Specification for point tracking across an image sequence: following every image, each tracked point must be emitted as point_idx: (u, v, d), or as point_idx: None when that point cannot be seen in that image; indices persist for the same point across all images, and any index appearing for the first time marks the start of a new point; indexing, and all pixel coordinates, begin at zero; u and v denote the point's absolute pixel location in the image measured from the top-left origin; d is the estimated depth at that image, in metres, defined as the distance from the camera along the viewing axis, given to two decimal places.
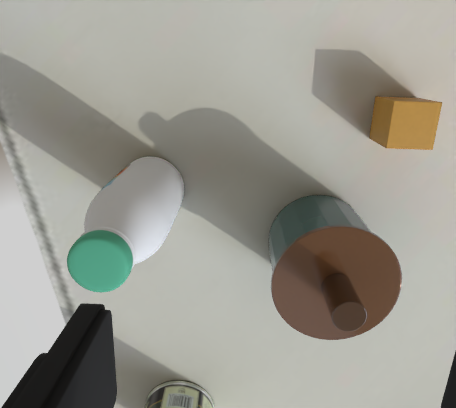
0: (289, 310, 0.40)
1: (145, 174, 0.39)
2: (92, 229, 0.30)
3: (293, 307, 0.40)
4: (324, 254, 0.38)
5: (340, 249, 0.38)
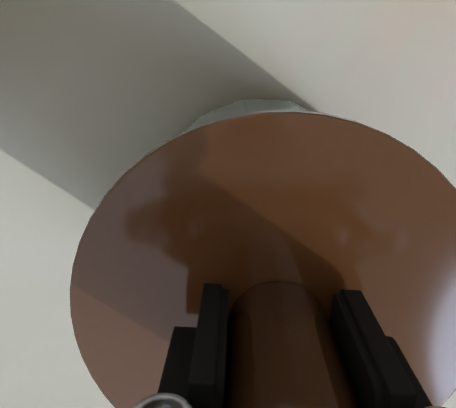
0: (137, 393, 0.13)
1: None
2: None
3: (149, 385, 0.13)
4: (230, 217, 0.11)
5: (284, 198, 0.11)
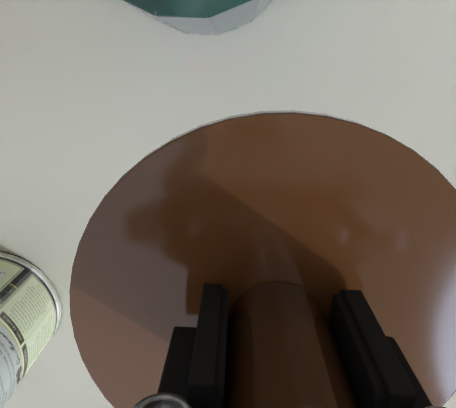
0: (137, 394, 0.13)
1: None
2: None
3: (149, 386, 0.13)
4: (230, 217, 0.11)
5: (284, 199, 0.11)
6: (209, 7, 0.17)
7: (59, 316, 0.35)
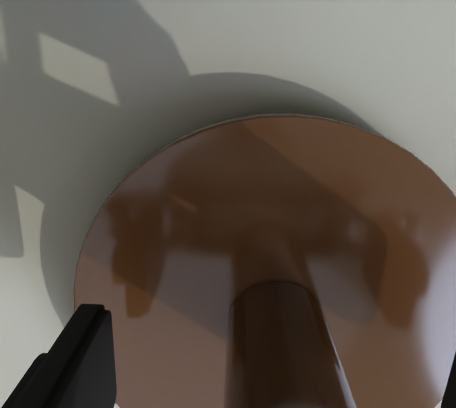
0: (139, 391, 0.13)
1: None
2: None
3: (151, 383, 0.13)
4: (230, 217, 0.11)
5: (283, 200, 0.11)
6: None
7: None
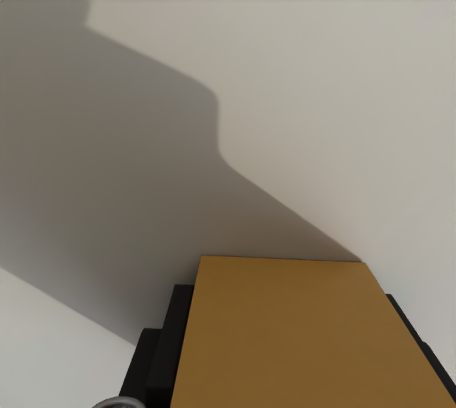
0: None
1: None
2: None
3: None
4: None
5: None
6: None
7: None
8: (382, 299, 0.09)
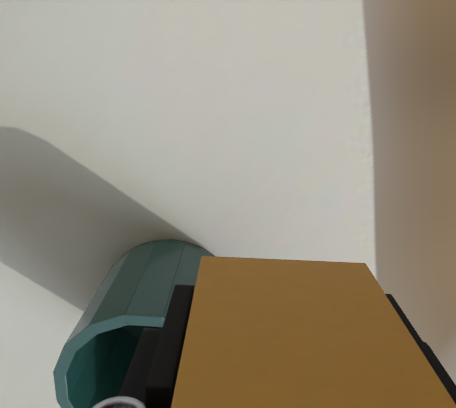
0: None
1: None
2: None
3: None
4: None
5: None
6: None
7: None
8: (382, 300, 0.09)
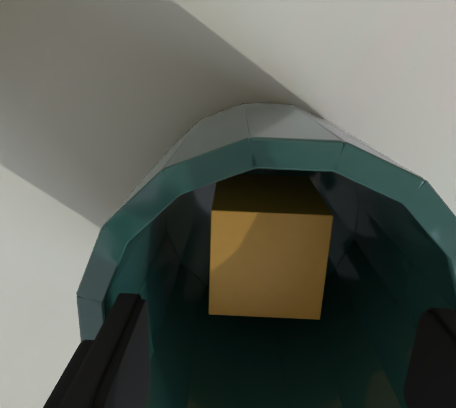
0: None
1: None
2: None
3: None
4: None
5: None
6: None
7: None
8: (312, 187, 0.18)
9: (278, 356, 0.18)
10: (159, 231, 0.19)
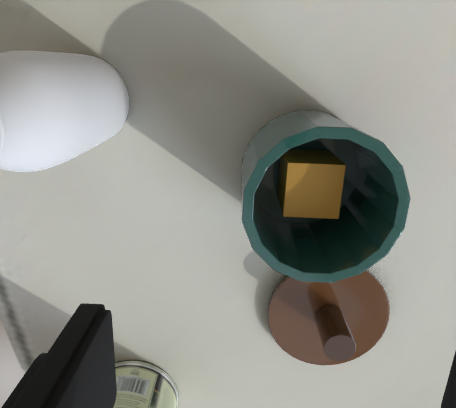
0: (285, 337, 0.43)
1: (56, 53, 0.27)
2: None
3: (289, 335, 0.43)
4: (317, 287, 0.41)
5: (332, 283, 0.40)
6: (332, 278, 0.30)
7: (177, 404, 0.47)
8: (333, 155, 0.35)
9: (315, 243, 0.35)
10: None
